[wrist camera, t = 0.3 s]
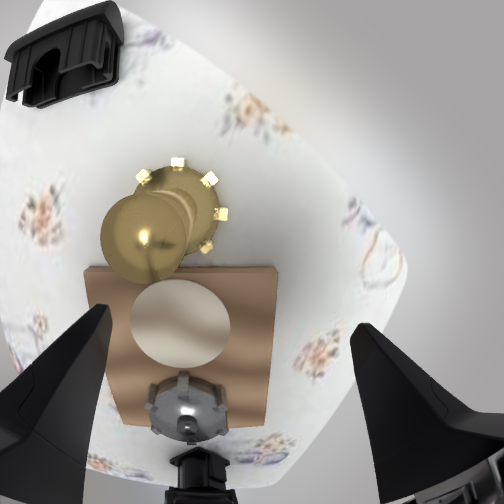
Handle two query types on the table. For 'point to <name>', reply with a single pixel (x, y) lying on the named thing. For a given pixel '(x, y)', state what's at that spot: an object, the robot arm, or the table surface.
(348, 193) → the table surface
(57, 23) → the end cap
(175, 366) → the carrier board
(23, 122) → the table surface
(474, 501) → the robot arm
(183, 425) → the sun gear
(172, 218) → the gear
